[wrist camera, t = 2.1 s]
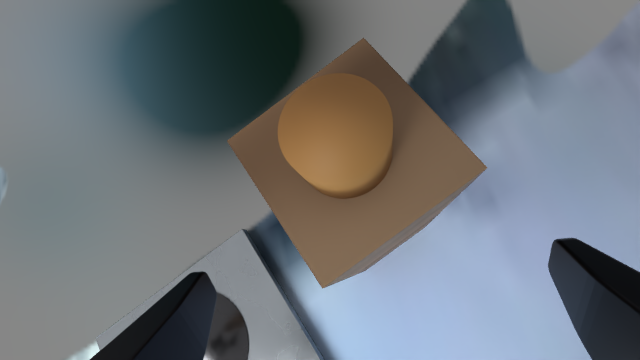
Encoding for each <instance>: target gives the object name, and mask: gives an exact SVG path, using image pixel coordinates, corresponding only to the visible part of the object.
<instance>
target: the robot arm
mask: <svg viewBox="0 0 640 360" xmlns="http://www.w3.org/2000/svg"><path fill="white" fill-rule="evenodd" d="M548 268H549V272H550V275H551V277H552V279H553V282H554V284H555V286H556V288H557V290H558V293H559V295H560V297H561V299H562V301H563V304H564V306H565V308H566V310H567V312H568V315H569V317H570V319H571V321H572V323H573V326H574V328H575V330H576V332H577V334H578V336H579V338H580V339H581V341H582V343H583V345H584V347H585V348H586V350H587V352H588V353H589V355H590V357H591V358H592V360H640V272H638V271H636V270H634V269H633V268H631V267H629V266H627V265H625V264H623V263H621V262H619V261H618V260H616V259H614V258H612V257H610V256H608V255H606V254H604V253H603V252H601V251H599V250H597V249H595V248H593V247H591V246H589V245H588V244H586V243H584V242H582V241H580V240H578V239H576V238H564V239H556V240H554V242H553V244H552V248H551V253H550V258H549V263H548ZM216 300H217V292H216V289H215V287H214V285H213V283H212V281H211V280H210V278H209V276H208V274H207V273H206V272H204V271H200V272H192V273H190V274H188V275H187V276H186V277H185V278H184V279H182V280H181V281H180V282H179V283H178V284H177V285H176V286H174V287H173V288H172V289H171V290H170V291H169V292H167V293H166V294H165V295H164V296H163V297H162V298H161V299H159V300H158V301H157V302H156V303H155V304H154V305H152V306H151V307H150V308H149V309H148V310H147V311H145V312H144V313H143V314H142V315H141V316H140V317H139V318H137V319H136V320H135V321H134V322H133V323H132V324H130V325H129V326H128V327H127V328H126V329H125V330H123V331H122V332H121V333H120V334H119V335H118V336H117V337H115V338H114V339H113V340H112V341H111V342H110V343H108V344H107V345H106V346H105V347H104V348H103V349H101V350H100V351H99V352H98V353H97V354H96V355H95V356H93V357H92V358H91V359H90V360H203V359H204V356H205V352H206V348H207V344H208V339H209V334H210V329H211V324H212V320H213V315H214V310H215V305H216Z"/></svg>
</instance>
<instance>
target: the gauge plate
mask: <svg viewBox="0 0 640 360" xmlns="http://www.w3.org/2000/svg"><path fill="white" fill-rule="evenodd" d="M200 271H204V272H206V273H207V274H208V276H209V278H210V280H211V281H212V283H213V285H214V287H215V289H216V292H217V300H216V305H215V310H214V315H213V320H212V324H211V329H210V334H209V339H208V344H207V348H206V352H205V356H204V359H203V360H324V358H323V357H322V355H321V353H320V352H319V350H318V348H317V347H316V345H315V343H314V342H313V340H312V338H311V337H310V335H309V333H308V332H307V330H306V328H305V327H304V325H303V323H302V322H301V320H300V318H299V317H298V315H297V313H296V312H295V310H294V308H293V307H292V305H291V303H290V302H289V300H288V298H287V297H286V295H285V294H284V292H283V290H282V289H281V287H280V285H279V284H278V282H277V280H276V279H275V277H274V275H273V274H272V272H271V270H270V269H269V267H268V265H267V264H266V262H265V260H264V259H263V257H262V255H261V254H260V252H259V250H258V249H257V247H256V245H255V244H254V242H253V240H252V239H251V237H250V235H249V234H248V232H247V230H244V229H241V230H240V231H239V232H237V233H236V234H235V235H233V236H232V237H230V238H229V239H228V240H226V241H225V242H224V243H222V244H221V245H220V246H218V247H217V248H216V249H214V250H213V251H212V252H210V253H209V254H208V255H206V256H205V257H204V258H202V259H201V260H200V261H198V262H197V263H196V264H194V265H193V266H192V267H190V268H189V269H187V270H186V271H185V272H183V273H182V274H181V275H179V276H178V277H177V278H175V279H174V280H173V281H171V282H170V283H169V284H167V285H166V286H165V287H163V288H162V289H161V290H159V291H158V292H157V293H155V294H154V295H153V296H151V297H150V298H149V299H147V300H146V301H145V302H143V303H142V304H141V305H139V306H138V307H136V308H135V309H134V310H132V311H131V312H130V313H128V314H127V315H126V316H125V317H123V318H122V319H120V320H119V321H118V322H116V323H115V324H114V325H112V326H111V327H110V328H108V329H107V330H106V331H104V332H103V333H102V334H100V335H99V336H97V337H96V341H97V344H98V346H99V349H100V350H101V349H103V348H104V347H105V346H106V345H107V344H108V343H110V342H111V341H112V340H113V339H114V338H115V337H117V336H118V335H119V334H120V333H121V332H122V331H123V330H125V329H126V328H127V327H128V326H129V325H130V324H132V323H133V322H134V321H135V320H136V319H137V318H139V317H140V316H141V315H142V314H143V313H144V312H145V311H147V310H148V309H149V308H150V307H151V306H152V305H154V304H155V303H156V302H157V301H158V300H159V299H161V298H162V297H163V296H164V295H165V294H166V293H167V292H169V291H170V290H171V289H172V288H173V287H174V286H176V285H177V284H178V283H179V282H180V281H181V280H182V279H184V278H185V277H186V276H187V275H188V274H190V273H192V272H200Z"/></svg>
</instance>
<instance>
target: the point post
mask: <svg viewBox="0 0 640 360" xmlns="http://www.w3.org/2000/svg"><path fill="white" fill-rule="evenodd" d="M227 142H228V143H229V145H230V146H231V148H232V149H233V151H234V152H235V154H236V156H237V157H238V159H239V160H240V162H241V163H242V165H243V166H244V168H245V169H246V171H247V172H248V174H249V176H250V177H251V179H252V180H253V182H254V183H255V185H256V186H257V188H258V190H259V191H260V192H261V194H262V196H263V197H264V199H265V200H266V202H267V203H268V205H269V207H270V208H271V210H272V211H273V213H274V214H275V216H276V217H277V219H278V220H279V222H280V224H281V225H282V227H283V228H284V230H285V231H286V233H287V234H288V236H289V237H290V239H291V240H292V242H293V244H294V245H295V247H296V248H297V250H298V251H299V253H300V254H301V256H302V257H303V259H304V261H305V262H306V264H307V265H308V267H309V268H310V270H311V271H312V273H313V274H314V276H315V278H316V279H317V281H318V282H319V284H320V285H321V287H322V288H325V287H328V286H330V285H332V284H335V283H337V282H339V281H342V280H344V279H347V278H349V277H351V276H354V275H356V274H359V273H361V272H363V271H366V270H367V269H368V268H370V267H371V266H372V265H374V264H375V263H377V262H378V261H379V260H381V259H382V258H383V257H385V256H386V255H388V254H389V253H390V252H392V251H393V250H394V249H396V248H397V247H398V246H400V245H401V244H403V243H404V242H405V241H407V240H408V239H409V238H411V237H412V236H413V235H415V234H416V233H418V232H419V231H420V230H422V229H423V228H424V227H426V226H427V225H428V224H429V223H430V222H431V221H432V220H433V219H434V218H435V217H436V216H437V215H438V214H439V213H440V212H441V211H442V210H443V209H445V208H446V207H447V206H448V205H449V204H450V203H451V202H452V201H453V200H454V199H455V198H456V197H457V196H458V195H459V194H460V193H461V192H462V191H463V190H465V189H466V188H467V187H468V186H469V185H470V184H471V183H472V182H473V181H474V180H475V179H476V178H477V177H478V176H479V175H480V174H481V173H482V172H483V171H485V170H486V169H487V167H486V166H485V165H484V164H483V162H482V161H481V160H480V159H479V158H478V157H477V156H476V155H475V154H474V153H473V152H472V151H471V150H470V149H469V148H468V147H467V146H466V145H465V144H464V143H463V142H462V140H461V139H460V138H459V137H458V136H457V135H456V134H455V133H454V132H453V131H452V130H451V129H450V128H449V127H448V126H447V125H446V124H445V123H444V122H443V121H442V119H441V118H440V117H439V116H438V115H437V114H436V113H435V112H434V111H433V110H432V109H431V108H430V107H429V106H428V105H427V104H426V103H425V102H424V101H423V100H422V98H421V97H420V96H419V95H418V94H417V93H416V92H415V91H414V90H413V89H412V88H411V87H410V86H409V85H408V84H407V83H406V82H405V81H404V80H403V79H402V78H401V76H400V75H399V74H398V73H397V72H396V71H395V70H394V69H393V68H392V67H391V66H390V65H389V64H388V63H387V62H386V61H385V60H384V59H383V58H382V57H381V56H380V55H379V53H378V52H377V51H376V50H375V49H374V48H373V47H372V46H371V45H370V44H369V43H368V42H367V41H366V40H365V39H364V38H363V39H361V40H360V41H359V42H357V43H356V44H355V45H353V46H352V47H351V48H349V49H348V50H347V51H346V52H344V53H343V54H341V55H340V56H339V57H337V58H336V59H335V60H334V61H332V62H331V63H330V64H328V65H327V66H326V67H324V68H323V69H322V70H320V71H319V72H318V73H316V74H315V75H314V76H312V77H311V78H310V79H308V80H307V81H306V82H304V83H303V84H302V85H300V86H299V87H298V88H296V89H295V90H294V91H292V92H291V93H290V94H289V95H287V96H286V97H284V98H283V99H282V100H280V101H279V102H278V103H276V104H275V105H274V106H272V107H271V108H270V109H269V110H267V111H266V112H265V113H263V114H262V115H261V116H259V117H258V118H257V119H255V120H254V121H253V122H251V123H250V124H249V125H248V126H246V127H245V128H243V129H242V130H241V131H239V132H238V133H237V134H235V135H234V136H233V137H232V138H230V139H229V140H228V141H227Z"/></svg>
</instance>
